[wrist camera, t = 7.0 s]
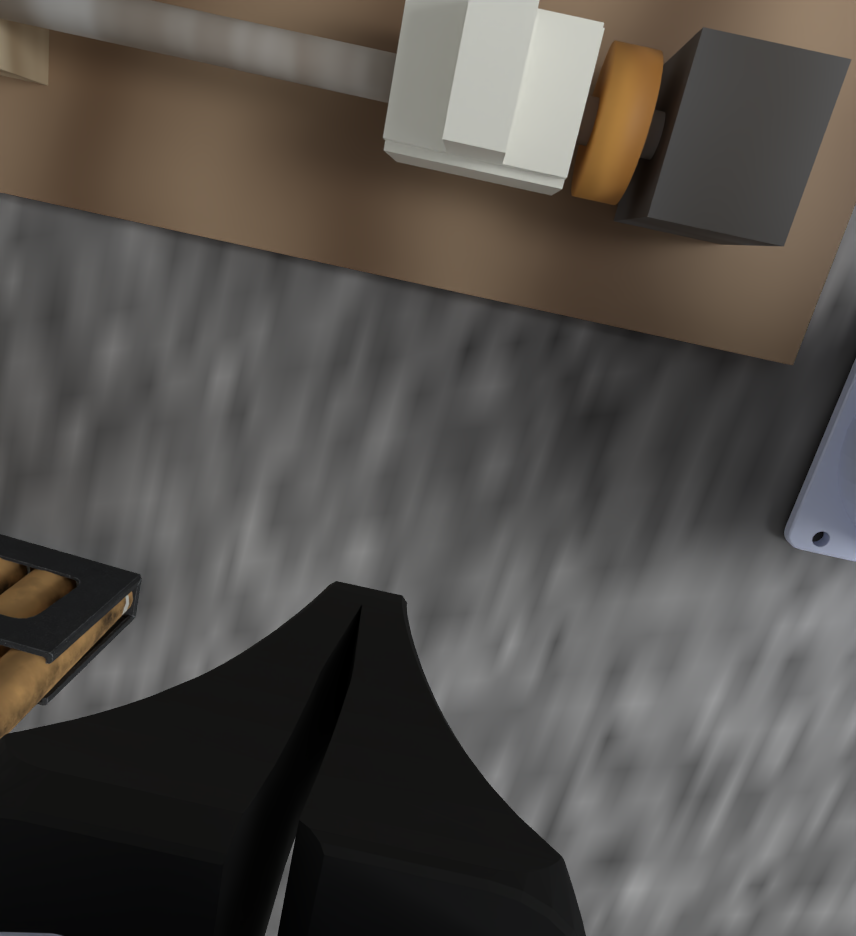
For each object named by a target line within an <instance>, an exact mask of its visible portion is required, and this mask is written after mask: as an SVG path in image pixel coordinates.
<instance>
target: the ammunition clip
mask: <svg viewBox="0 0 856 936" xmlns="http://www.w3.org/2000/svg"><path fill="white" fill-rule="evenodd" d="M140 584H141V577H140V574H137V573H133V572H130V571H126V570H123V569H119V568H116V567H112V566H109V565H105V564H102V563H98V562H95V561H91V560H88V559H85V558H81V557H78V556H74V555H71V554H67V553H64V552H60V551H57V550H53V549H50V548H46V547H43V546H39V545H36V544H32V543H29V542H25V541H22V540H18V539H15V538H11V537H8V536H4V535H1V534H0V739H1V738H2V737H3V736H4V735H5V734H8V733H9V732H10V731H11V730H12V729H13V728H14V727H15V726H16V725H17V724H18V723H19V722H20V721H21V720H22V719H23V718H24V717H25V716H26V714H27V713H28V712H29V711H30V710H31V709H32V708H33V707H34V706H35V705H36V704H40V705H46V704H47V703H48V702H49V701H51V700H52V699H53V698H54V697H55V696H56V695H57V694H58V693H59V692H60V691H61V690H62V689H63V688H64V687H65V686H66V685H67V684H68V683H69V682H70V681H71V680H72V679H73V678H74V677H75V676H76V675H77V674H78V673H79V672H80V671H81V670H82V669H83V668H84V667H85V666H86V665H87V664H88V663H89V662H90V661H91V660H92V659H93V658H94V657H95V656H96V655H98V654H99V653H100V652H101V651H102V650H103V649H104V648H105V647H106V646H107V645H108V644H109V643H110V642H111V641H112V640H113V639H114V638H115V637H116V636H117V635H118V634H119V633H120V632H121V631H122V630H123V629H124V628H125V627H126V626H127V625H128V624H129V623H130V622H131V621H132V620H133V619H134V618H135V616H136V610H137V603H138V597H139V591H140Z"/></svg>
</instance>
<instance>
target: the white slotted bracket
mask: <svg viewBox="0 0 856 936" xmlns="http://www.w3.org/2000/svg"><path fill="white" fill-rule="evenodd" d="M539 1H540V0H406V1H405V7H404V13H403V19H402V25H401V31H400V37H399V43H398V49H397V55H396V61H395V67H394V73H393V79H392V85H391V91H390V97H389V103H388V109H387V115H386V121H385V127H384V134H383V139H384V140H385V145H384V151H385V152H386V153H387V154H388V155H389V156H391V157H392V158H393V159H394V160H395V161H396V162H400V163H404V164H409V165H414V166H418V167H423V168H427V169H432V170H437V171H441V172H446V173H450V174H455V175H459V176H464V177H469V178H473V179H478V180H482V181H487V182H492V183H496V184H501V185H505V186H510V187H515V188H519V189H524V190H528V191H533V192H538V193H542V194H547V195H551V196H552V195H553V194H555V193H557V192H558V191H560V190H562V189H563V185H564V181H565V179H566V178H567V176H568V172H569V168H570V164H571V160H572V156H573V152H574V148H575V144H576V140H577V136H578V132H579V128H580V124H581V120H582V116H583V112H584V109H585V105H586V101H587V97H588V93H589V89H590V85H591V81H592V77H593V73H594V69H595V65H596V61H597V57H598V53H599V49H600V45H601V41H602V37H603V33H604V29H605V28H603V26H604V23H603V22H599V21H594V20H589V19H585V18H580V17H576V16H571V15H566V14H562V13H557V12H552V11H548V10H543V9H539V8H538V5H539Z"/></svg>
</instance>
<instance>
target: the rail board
mask: <svg viewBox="0 0 856 936" xmlns="http://www.w3.org/2000/svg"><path fill="white" fill-rule="evenodd" d="M405 1H406V0H0V192H1V193H6V194H10V195H15V196H19V197H24V198H28V199H33V200H38V201H42V202H47V203H51V204H56V205H61V206H65V207H70V208H74V209H79V210H83V211H88V212H93V213H97V214H102V215H106V216H111V217H115V218H120V219H125V220H129V221H134V222H138V223H143V224H148V225H152V226H157V227H161V228H166V229H170V230H175V231H180V232H184V233H189V234H193V235H198V236H202V237H207V238H212V239H216V240H221V241H225V242H230V243H235V244H239V245H244V246H248V247H253V248H257V249H262V250H267V251H271V252H276V253H280V254H285V255H289V256H294V257H299V258H303V259H308V260H312V261H317V262H322V263H326V264H331V265H335V266H340V267H344V268H349V269H354V270H358V271H363V272H367V273H372V274H376V275H381V276H386V277H390V278H395V279H399V280H404V281H409V282H413V283H418V284H422V285H427V286H431V287H436V288H441V289H445V290H450V291H454V292H459V293H463V294H468V295H473V296H477V297H482V298H486V299H491V300H496V301H500V302H505V303H509V304H514V305H518V306H523V307H528V308H532V309H537V310H541V311H546V312H550V313H555V314H560V315H564V316H569V317H573V318H578V319H583V320H587V321H592V322H596V323H601V324H605V325H610V326H615V327H619V328H624V329H628V330H633V331H637V332H642V333H647V334H651V335H656V336H660V337H665V338H670V339H674V340H679V341H683V342H688V343H692V344H697V345H702V346H706V347H711V348H715V349H720V350H724V351H729V352H734V353H738V354H743V355H747V356H752V357H757V358H761V359H766V360H770V361H775V362H779V363H784V364H789V365H793V364H794V361H795V359H796V356H797V354H798V351H799V348H800V346H801V343H802V341H803V338H804V335H805V333H806V330H807V328H808V325H809V323H810V320H811V317H812V315H813V312H814V310H815V307H816V304H817V302H818V299H819V297H820V294H821V292H822V289H823V286H824V284H825V281H826V279H827V276H828V273H829V271H830V268H831V266H832V263H833V261H834V258H835V255H836V253H837V250H838V248H839V245H840V242H841V240H842V237H843V235H844V232H845V230H846V227H847V224H848V222H849V219H850V217H851V214H852V211H853V209H854V206H855V204H856V0H540V1H539V5H538V8H539V9H543V10H548V11H552V12H557V13H562V14H566V15H571V16H576V17H580V18H585V19H589V20H594V21H599V22H603V23H604V26H603V28H605V29H604V33H603V37H602V41H601V45H600V49H599V53H598V57H597V61H596V65H595V69H594V73H593V77H592V81H591V85H590V89H589V93H588V97H587V101H586V105H585V109H584V112H583V116H582V120H581V124H580V128H579V132H578V136H577V140H576V144H575V148H574V152H573V156H572V160H571V164H570V168H569V172H568V176H567V178H566V179H565V181H564V185H563V189H562V190H560V191H558V192H557V193H555V194H553V195H552V196H551V195H547V194H542V193H538V192H533V191H528V190H524V189H519V188H515V187H510V186H505V185H501V184H496V183H492V182H487V181H482V180H478V179H473V178H469V177H464V176H459V175H455V174H450V173H446V172H441V171H437V170H432V169H427V168H423V167H418V166H414V165H409V164H404V163H400V162H396V161H395V160H394V159H393V158H392V157H391V156H389V155H388V154H387V153H386V152H385V151H384V145H385V140H384V139H383V134H384V127H385V121H386V115H387V109H388V103H389V97H390V91H391V85H392V79H393V73H394V67H395V61H396V55H397V49H398V43H399V37H400V31H401V25H402V19H403V13H404V7H405Z"/></svg>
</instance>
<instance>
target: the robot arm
mask: <svg viewBox="0 0 856 936" xmlns="http://www.w3.org/2000/svg"><path fill="white" fill-rule="evenodd" d="M818 532H824V535H823V537H822V538H821V539H820V540H818V541H812V538H813V536H814V535H815V534H816V533H818ZM784 535H785V539H786V540H787V541H788V542H789V543H790V544H791V545H792V546H793V547H795V548H797V549H800V550H805V551H809V552H814V553H818V554H823V555H827V556H832V557H836V558H841V559H846V560H850V561H855V562H856V359H855V361H854V364H853V366H852V368H851V371H850V373H849V376H848V378H847V380H846V383H845V385H844V388H843V390H842V392H841V395H840V397H839V400H838V402H837V404H836V407H835V409H834V412H833V414H832V416H831V419H830V421H829V424H828V426H827V428H826V431H825V433H824V436H823V438H822V440H821V443H820V445H819V448H818V450H817V452H816V455H815V457H814V460H813V462H812V464H811V467H810V469H809V472H808V474H807V476H806V479H805V481H804V484H803V486H802V488H801V491H800V493H799V496H798V498H797V500H796V503H795V505H794V508H793V510H792V512H791V515H790V517H789V520H788V522H787V524H786V527H785V531H784ZM295 837H296V838H295ZM294 839H295V844H294V849H293V855H292V860H291V865H290V871H289V876H288V882H287V887H286V892H285V898H284V903H283V909H282V914H281V920H280V925H279V930H278V936H586V935H585V930H584V926H583V921H582V918H581V914H580V910H579V907H578V903H577V900H576V896H575V893H574V890H573V886H572V883H571V880H570V877H569V874H568V871H567V868H566V865H565V862H564V859H563V858H562V856H561V855H560V854H559V853H558V852H556V851H555V850H554V849H553V848H552V847H551V846H550V845H549V844H548V843H547V842H546V841H545V840H543V839H542V838H541V837H540V836H539V835H538V834H537V833H536V832H535V831H534V830H533V829H532V828H531V827H529V826H528V825H527V824H526V823H525V822H524V821H523V820H522V819H521V818H520V817H519V816H518V815H517V814H516V813H515V812H514V811H513V810H512V809H511V808H510V807H509V806H508V804H507V803H506V802H505V801H504V800H503V799H502V798H501V797H500V796H499V794H498V793H497V792H496V791H495V790H494V789H493V788H492V787H491V785H490V784H489V783H488V782H487V781H486V779H485V778H484V777H483V775H482V774H481V773H480V771H479V770H478V769H477V767H476V766H475V765H474V763H473V762H472V761H471V759H470V758H469V757H468V755H467V754H466V752H465V751H464V749H463V748H462V746H461V745H460V743H459V742H458V740H457V738H456V737H455V735H454V734H453V732H452V730H451V728H450V727H449V725H448V723H447V721H446V719H445V718H444V716H443V714H442V712H441V710H440V708H439V706H438V704H437V702H436V700H435V698H434V696H433V693H432V691H431V689H430V686H429V684H428V682H427V679H426V677H425V674H424V672H423V669H422V667H421V664H420V661H419V658H418V655H417V652H416V649H415V646H414V642H413V639H412V635H411V631H410V626H409V622H408V616H407V602H406V601H405V599H404V598H403V596H402V595H397V594H392V593H388V592H383V591H379V590H374V589H370V588H365V587H361V586H356V585H352V584H347V583H342V582H338V581H336V582H334V583H332V584H330V585H329V586H328V587H327V588H326V589H325V590H324V591H323V592H322V593H320V594H319V595H318V596H317V597H316V598H315V599H314V600H313V601H312V602H310V603H309V604H308V605H307V606H306V607H305V608H303V609H302V610H301V611H300V612H299V613H297V614H296V615H295V616H293V617H292V618H291V619H290V620H288V621H287V622H286V623H284V624H283V625H282V626H281V627H279V628H278V629H277V630H275V631H274V632H272V633H271V634H270V635H268V636H267V637H265V638H264V639H262V640H261V641H259V642H258V643H256V644H255V645H253V646H252V647H250V648H249V649H247V650H246V651H244V652H243V653H241V654H239V655H238V656H236V657H234V658H233V659H231V660H229V661H227V662H226V663H224V664H222V665H220V666H218V667H217V668H215V669H213V670H211V671H209V672H207V673H205V674H203V675H201V676H199V677H197V678H194V679H192V680H189V681H187V682H185V683H182V684H180V685H177V686H175V687H172V688H170V689H168V690H165V691H163V692H160V693H158V694H156V695H153V696H150V697H148V698H145V699H142V700H139V701H136V702H133V703H130V704H127V705H124V706H121V707H118V708H114V709H111V710H107V711H104V712H101V713H97V714H94V715H90V716H86V717H82V718H79V719H75V720H70V721H65V722H61V723H56V724H52V725H47V726H43V727H38V728H33V729H29V730H24V731H19V732H14V733H8V734H5V735H4V736H3V737H2V738H1V739H0V936H265V933H266V929H267V926H268V922H269V919H270V915H271V912H272V909H273V905H274V902H275V898H276V895H277V892H278V888H279V885H280V881H281V878H282V874H283V871H284V868H285V865H286V862H287V859H288V856H289V853H290V850H291V847H292V845H293V842H294Z"/></svg>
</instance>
